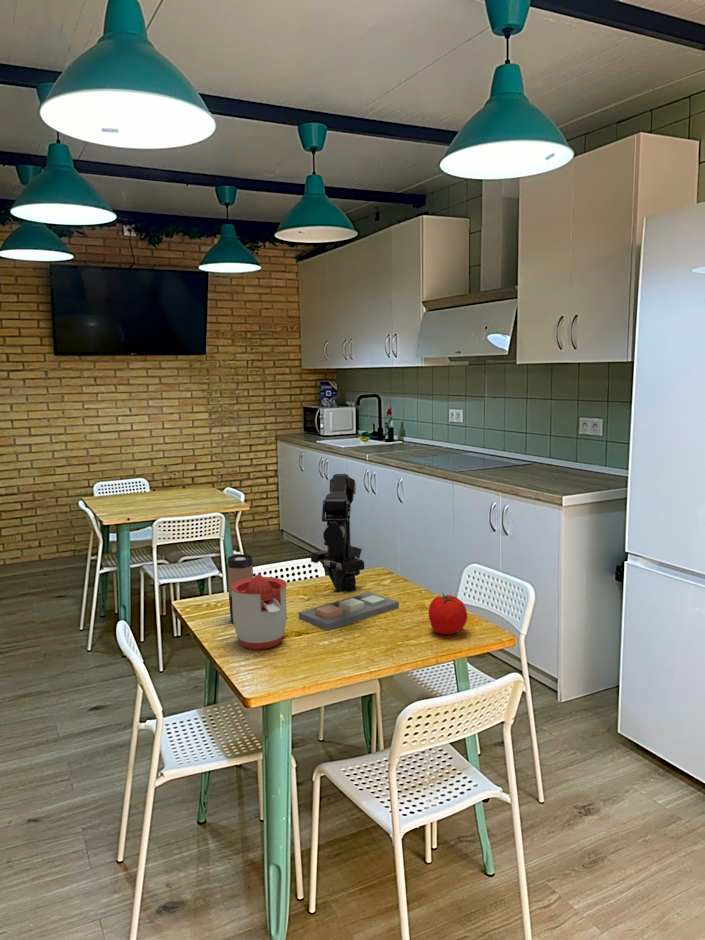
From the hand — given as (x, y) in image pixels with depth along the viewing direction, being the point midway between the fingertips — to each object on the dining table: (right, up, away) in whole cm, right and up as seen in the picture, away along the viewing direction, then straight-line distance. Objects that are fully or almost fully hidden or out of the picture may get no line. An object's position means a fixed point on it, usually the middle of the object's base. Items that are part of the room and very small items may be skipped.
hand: (337, 588), depth 214 cm
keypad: (+4, -10, +6) cm, 12 cm away
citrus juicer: (-21, -13, -15) cm, 29 cm away
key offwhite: (+4, -7, +5) cm, 10 cm away
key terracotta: (-3, -8, -1) cm, 9 cm away
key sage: (+11, -8, +11) cm, 17 cm away
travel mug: (-29, -11, +4) cm, 32 cm away
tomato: (+32, -12, -9) cm, 35 cm away
